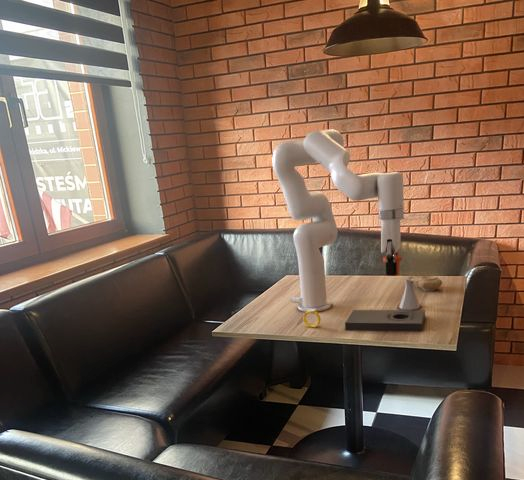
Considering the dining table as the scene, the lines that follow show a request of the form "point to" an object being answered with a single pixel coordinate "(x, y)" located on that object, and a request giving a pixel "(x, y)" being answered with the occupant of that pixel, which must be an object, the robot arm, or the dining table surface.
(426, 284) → the oil lamp
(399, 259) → the stopper
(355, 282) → the dining table surface
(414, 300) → the flask
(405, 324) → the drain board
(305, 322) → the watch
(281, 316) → the dining table surface
